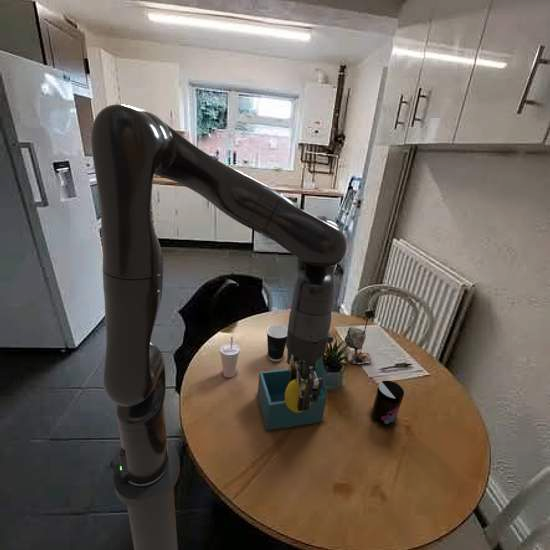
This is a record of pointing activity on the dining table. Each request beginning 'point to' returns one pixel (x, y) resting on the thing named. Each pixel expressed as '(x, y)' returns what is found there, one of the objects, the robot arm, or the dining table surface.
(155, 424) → the robot arm
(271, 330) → the dixie cup
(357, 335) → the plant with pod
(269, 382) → the teal lidded box
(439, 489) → the dining table surface
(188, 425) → the dining table surface
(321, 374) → the lid
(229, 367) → the smoothie
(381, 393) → the supplement container
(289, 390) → the lemon
